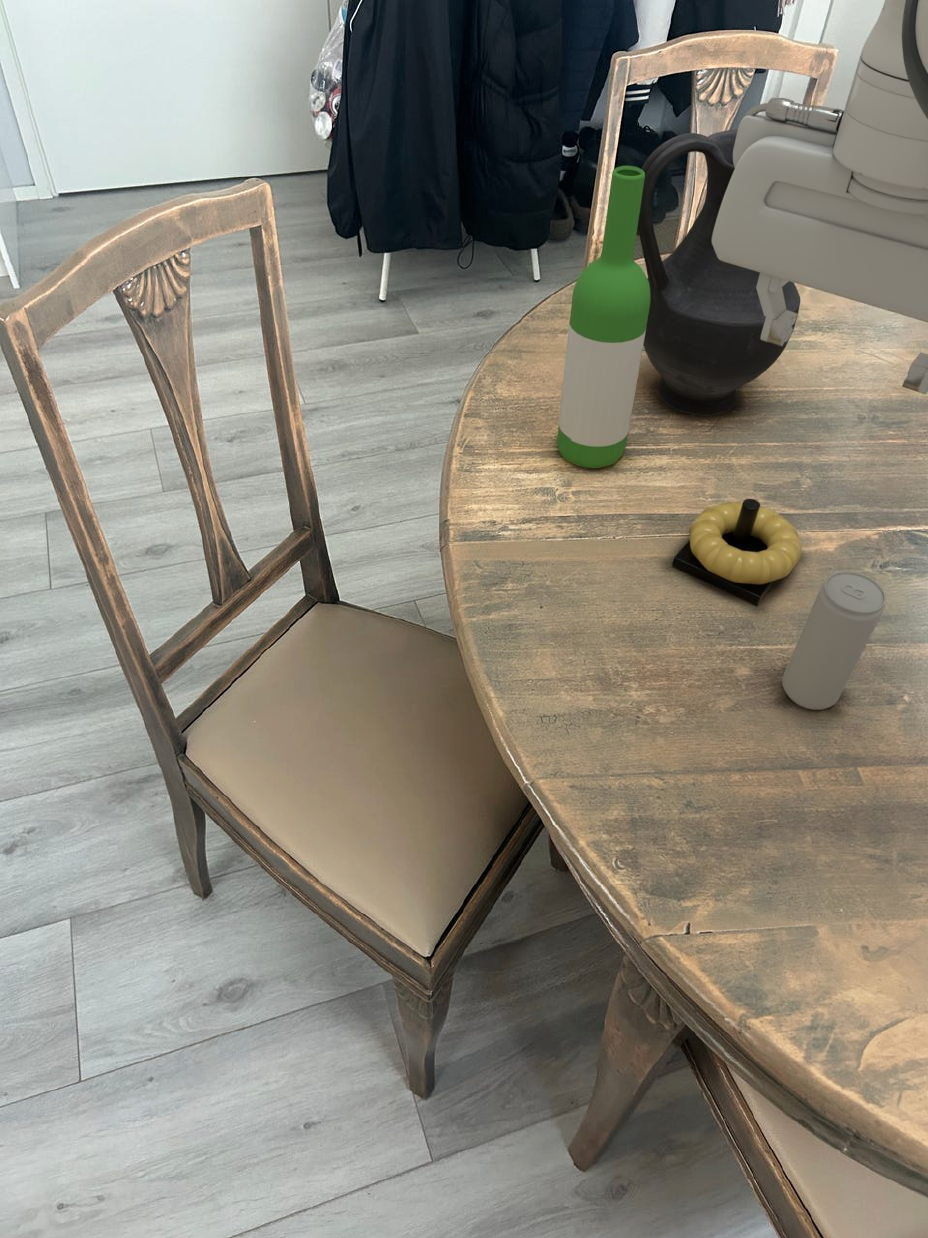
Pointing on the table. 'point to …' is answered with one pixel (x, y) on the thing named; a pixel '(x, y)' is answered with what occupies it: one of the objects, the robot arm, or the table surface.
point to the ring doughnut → (745, 563)
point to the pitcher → (702, 295)
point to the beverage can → (833, 639)
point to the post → (738, 540)
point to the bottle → (606, 336)
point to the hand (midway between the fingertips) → (843, 362)
